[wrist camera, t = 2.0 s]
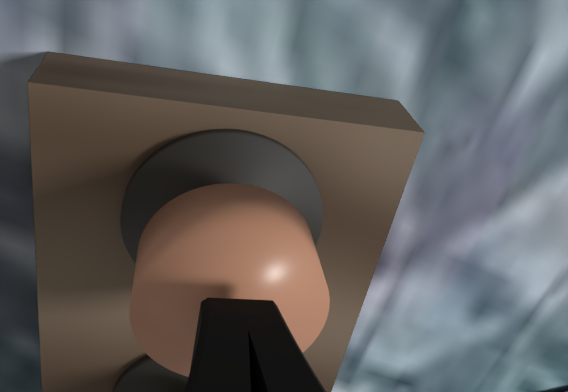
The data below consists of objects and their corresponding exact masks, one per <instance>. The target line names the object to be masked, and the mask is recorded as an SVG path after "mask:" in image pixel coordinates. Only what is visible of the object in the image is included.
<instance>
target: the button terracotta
mask: <svg viewBox="0 0 568 392" xmlns="http://www.w3.org/2000/svg"><path fill="white" fill-rule="evenodd" d="M208 297H209V298H231V299H253V300H273V301H274V302H275V304H276V305H277V306H278V308H279V310H280V312H281V314H282V316H283V318H284V320H285V322H286V324H287V326H288V328H289V330H290V331H291V333H292V335H293V337H294V339H295V341H296V342H297V344H298V346H299V348H300V349H301V351H302V353H303V352H304V351H305V350H306V349H307V348H308V347H309V346H310V345H311V344H312V343H313V342H314V341H315V340H316V338H317V337H318V336H319V334H320V332H321V331H322V329H323V327H324V325H325V322H326V320H327V317H328V312H329V305H330V297H329V290H328V286H327V283H326V280H325V276H324V273H323V270H322V267H321V264H320V260H319V257H318V254H317V251H316V248H315V244H314V241H313V238H312V235H311V232H310V228H309V226H308V224H307V222H306V220H305V219H304V217H303V216H302V215H301V213H300V212H299V211H298V210H297V209H296V208H295V207H294V206H293V205H292V204H291V203H290V202H288V201H287V200H286V199H284V198H283V197H281V196H279V195H277V194H276V193H274V192H271V191H269V190H266V189H264V188H260V187H256V186H253V185H246V184H237V183H224V184H214V185H208V186H203V187H200V188H197V189H193V190H190V191H188V192H186V193H184V194H181V195H179V196H178V197H176V198H174V199H173V200H171V201H169V202H168V203H167V204H165V205H164V206H163V207H162V208H160V209H159V210H158V211H157V212H156V213H155V214H154V215H153V217H152V218H151V219H150V221H149V222H148V223H147V225H146V227H145V229H144V230H143V232H142V235H141V238H140V241H139V244H138V250H137V257H136V265H135V273H134V280H133V288H132V295H131V303H130V310H129V311H130V324H131V329H132V331H133V334H134V336H135V339H136V340H137V342H138V344H139V345H140V347H141V348H142V349H143V350H144V351H145V353H146V354H147V355H148V356H150V357H151V358H152V359H153V360H154V361H155V362H157V363H158V364H160V365H162V366H163V367H165V368H167V369H169V370H171V371H173V372H175V373H178V374H181V375H184V376H187V377H189V374H190V368H191V362H192V355H193V349H194V343H195V336H196V330H197V324H198V318H199V311H200V305H201V302H202V301H203V300H205V299H206V298H208Z"/></svg>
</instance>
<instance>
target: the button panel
mask: <svg viewBox="0 0 568 392" xmlns="http://www.w3.org/2000/svg"><path fill="white" fill-rule="evenodd" d="M28 101H29V122H30V144H31V166H32V187H33V209H34V231H35V253H36V274H37V296H38V318H39V339H40V361H41V383H42V392H184V391H185V387H186V384H187V380H188V377H187V376H184V375H181V374H178V373H175V372H173V371H171V370H169V369H167V368H165V367H163V366H162V365H160V364H158V363H157V362H155V361H154V360H153V359H152V358H151V357H150V356H148V355H147V354H146V353H145V351H144V350H143V349H142V348H141V347H140V345H139V344H138V342H137V340H136V339H135V336H134V334H133V331H132V329H131V324H130V311H129V310H130V303H131V295H132V288H133V280H134V273H135V265H136V257H137V250H138V244H139V241H140V238H141V235H142V232H143V230H144V229H145V227H146V225H147V223H148V222H149V221H150V219H151V218H152V217H153V215H154V214H155V213H156V212H157V211H158V210H159V209H160V208H162V207H163V206H164V205H165V204H167V203H168V202H169V201H171V200H173V199H174V198H176V197H178V196H179V195H181V194H184V193H186V192H188V191H190V190H193V189H197V188H200V187H203V186H208V185H214V184H224V183H237V184H246V185H253V186H256V187H260V188H264V189H266V190H269V191H271V192H274V193H276V194H277V195H279V196H281V197H283V198H284V199H286V200H287V201H288V202H290V203H291V204H292V205H293V206H294V207H295V208H296V209H297V210H298V211H299V212H300V213H301V215H302V216H303V217H304V219H305V220H306V222H307V224H308V226H309V228H310V232H311V235H312V238H313V241H314V244H315V248H316V251H317V254H318V257H319V260H320V264H321V267H322V270H323V273H324V276H325V280H326V283H327V286H328V290H329V297H330V305H329V312H328V317H327V320H326V322H325V325H324V327H323V329H322V331H321V332H320V334H319V336H318V337H317V338H316V340H315V341H314V342H313V343H312V344H311V345H310V346H309V347H308V348H307V349H306V350H305V351H304V352H303V355H304V356H305V358H306V360H307V362H308V363H309V365H310V367H311V368H312V370H313V372H314V373H315V375H316V376H317V378H318V380H319V381H320V383H321V384H322V386H323V388H324V389H325V391H326V392H331V390H332V388H333V385H334V382H335V379H336V377H337V374H338V371H339V368H340V365H341V363H342V360H343V357H344V354H345V352H346V349H347V346H348V343H349V341H350V338H351V335H352V332H353V329H354V327H355V324H356V321H357V318H358V316H359V313H360V310H361V307H362V305H363V302H364V299H365V296H366V293H367V291H368V288H369V285H370V282H371V280H372V277H373V274H374V271H375V269H376V266H377V263H378V260H379V257H380V255H381V252H382V249H383V246H384V244H385V241H386V238H387V235H388V233H389V230H390V227H391V224H392V221H393V219H394V216H395V213H396V210H397V208H398V205H399V202H400V199H401V197H402V194H403V191H404V188H405V185H406V183H407V180H408V177H409V174H410V172H411V169H412V166H413V163H414V161H415V158H416V155H417V152H418V149H419V147H420V144H421V141H422V138H423V136H424V133H425V132H424V131H423V130H422V129H421V128H420V126H419V125H418V124H417V123H416V121H415V120H414V119H413V118H412V117H411V115H410V114H409V113H408V112H407V110H406V109H405V108H404V107H403V106H402V104H401V103H400V102H399V101H396V100H389V99H382V98H375V97H368V96H361V95H354V94H346V93H339V92H332V91H325V90H318V89H311V88H304V87H296V86H289V85H282V84H275V83H268V82H261V81H254V80H246V79H239V78H232V77H225V76H218V75H211V74H204V73H196V72H189V71H182V70H175V69H168V68H161V67H154V66H146V65H139V64H132V63H125V62H118V61H111V60H103V59H96V58H89V57H82V56H75V55H68V54H61V53H53V52H48V54H47V55H46V56H45V58H44V59H43V61H42V62H41V64H40V65H39V66H38V68H37V69H36V71H35V72H34V74H33V75H32V77H31V78H30V79H29V81H28Z"/></svg>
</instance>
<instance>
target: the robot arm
mask: <svg viewBox="0 0 568 392" xmlns="http://www.w3.org/2000/svg"><path fill="white" fill-rule="evenodd" d="M184 392H326V391H325V389H324V388H323V386H322V384H321V383H320V381H319V380H318V378H317V376H316V375H315V373H314V372H313V370H312V368H311V367H310V365H309V363H308V362H307V360H306V358H305V356H304V355H303V353H302V351H301V349H300V348H299V346H298V344H297V342H296V341H295V339H294V337H293V335H292V333H291V331H290V330H289V328H288V326H287V324H286V322H285V320H284V318H283V316H282V314H281V312H280V310H279V308H278V306H277V305H276V304H275V302H274V301H273V300H253V299H231V298H209V297H208V298H206V299H205V300H203V301H202V302H201V305H200V311H199V318H198V324H197V330H196V336H195V343H194V349H193V355H192V362H191V368H190V374H189V377H188V380H187V384H186V387H185V391H184ZM566 392H568V391H566Z"/></svg>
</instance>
